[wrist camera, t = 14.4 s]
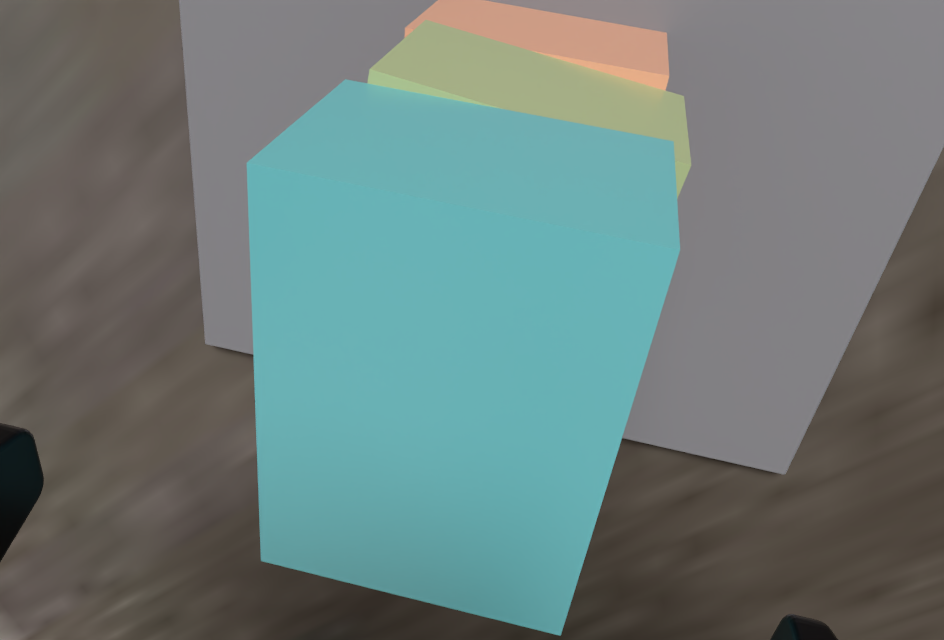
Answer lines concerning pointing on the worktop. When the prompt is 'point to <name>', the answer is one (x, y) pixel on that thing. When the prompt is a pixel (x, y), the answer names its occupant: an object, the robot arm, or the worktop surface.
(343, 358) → the teal brick
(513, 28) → the terracotta brick
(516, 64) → the olive brick
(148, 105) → the worktop surface
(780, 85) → the baseplate
